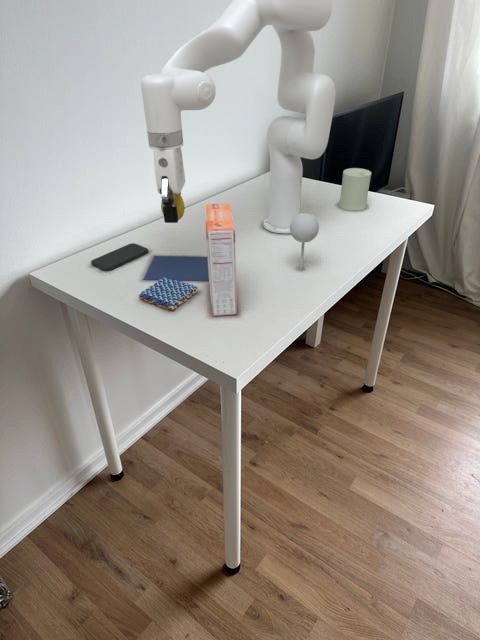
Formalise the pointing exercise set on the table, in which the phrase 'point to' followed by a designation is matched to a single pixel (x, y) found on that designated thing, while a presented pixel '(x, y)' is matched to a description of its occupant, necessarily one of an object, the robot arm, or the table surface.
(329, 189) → the table surface
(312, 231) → the lollipop
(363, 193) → the can
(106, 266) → the phone
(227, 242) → the cracker box
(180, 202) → the lemon
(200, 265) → the cloth
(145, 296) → the woven mat
